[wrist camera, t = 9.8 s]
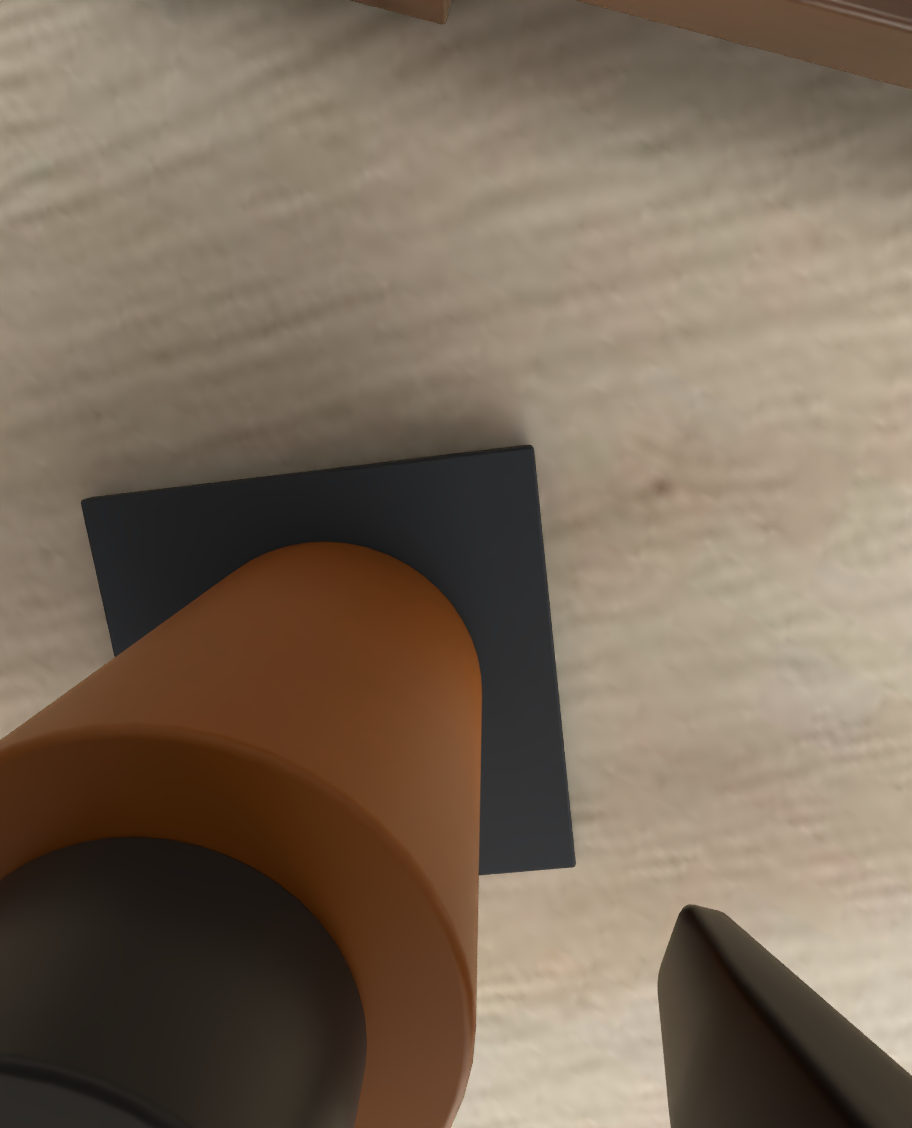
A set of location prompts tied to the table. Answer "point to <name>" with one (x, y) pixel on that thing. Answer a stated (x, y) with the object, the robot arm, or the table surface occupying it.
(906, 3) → the shelf
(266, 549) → the coaster
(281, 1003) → the spice bottle
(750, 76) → the table surface
